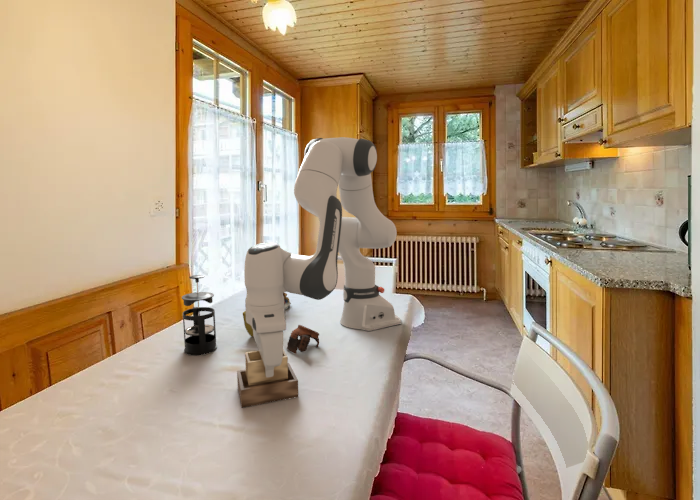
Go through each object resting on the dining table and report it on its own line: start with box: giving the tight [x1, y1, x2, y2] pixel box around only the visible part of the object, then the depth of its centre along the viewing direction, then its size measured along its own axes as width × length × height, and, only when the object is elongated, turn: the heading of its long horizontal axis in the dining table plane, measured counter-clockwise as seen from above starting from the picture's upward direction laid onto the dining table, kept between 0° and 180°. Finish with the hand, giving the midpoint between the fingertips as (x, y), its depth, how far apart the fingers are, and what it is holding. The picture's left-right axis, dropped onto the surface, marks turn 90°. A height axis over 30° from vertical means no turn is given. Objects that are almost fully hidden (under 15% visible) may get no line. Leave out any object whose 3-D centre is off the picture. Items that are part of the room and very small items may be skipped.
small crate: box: [244, 348, 289, 385], centre depth 91 cm, size 9×6×6 cm, turn 111°
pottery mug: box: [286, 324, 320, 355], centre depth 116 cm, size 12×10×8 cm
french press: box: [181, 274, 218, 357], centre depth 115 cm, size 12×9×23 cm
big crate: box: [236, 362, 299, 409], centre depth 92 cm, size 13×10×4 cm
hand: (266, 368), depth 91 cm, fingers closed on small crate, 6 cm apart
